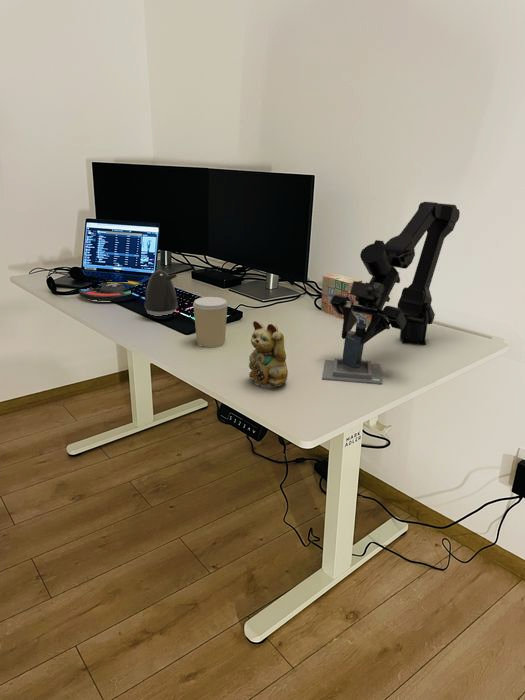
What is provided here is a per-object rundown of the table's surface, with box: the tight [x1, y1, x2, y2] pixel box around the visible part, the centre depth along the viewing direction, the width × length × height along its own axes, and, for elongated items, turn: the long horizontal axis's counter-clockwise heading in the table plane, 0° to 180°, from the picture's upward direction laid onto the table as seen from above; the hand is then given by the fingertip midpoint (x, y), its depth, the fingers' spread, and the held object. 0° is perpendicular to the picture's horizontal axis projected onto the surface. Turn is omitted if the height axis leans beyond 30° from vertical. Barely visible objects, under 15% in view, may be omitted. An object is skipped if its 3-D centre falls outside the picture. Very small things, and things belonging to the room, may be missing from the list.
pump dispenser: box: [144, 269, 179, 316], centre depth 169 cm, size 10×10×15 cm
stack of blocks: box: [320, 273, 372, 328], centre depth 174 cm, size 21×6×12 cm, turn 35°
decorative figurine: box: [248, 320, 289, 390], centre depth 125 cm, size 10×8×15 cm
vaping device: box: [341, 320, 367, 369], centre depth 131 cm, size 3×5×12 cm, turn 38°
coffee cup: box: [192, 296, 228, 348], centre depth 149 cm, size 9×9×12 cm
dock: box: [321, 357, 383, 385], centre depth 133 cm, size 14×12×2 cm
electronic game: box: [78, 280, 144, 301], centre depth 195 cm, size 23×23×5 cm
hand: (352, 340), depth 130 cm, fingers closed on vaping device, 5 cm apart
